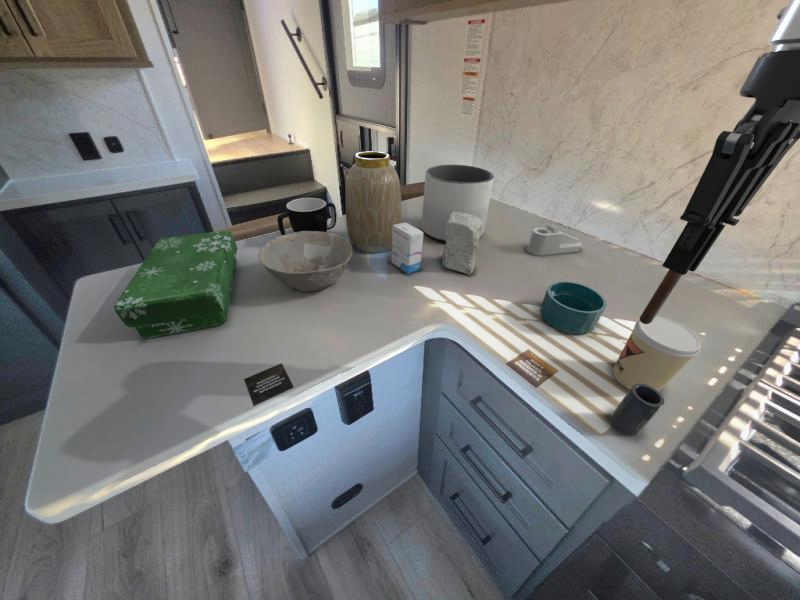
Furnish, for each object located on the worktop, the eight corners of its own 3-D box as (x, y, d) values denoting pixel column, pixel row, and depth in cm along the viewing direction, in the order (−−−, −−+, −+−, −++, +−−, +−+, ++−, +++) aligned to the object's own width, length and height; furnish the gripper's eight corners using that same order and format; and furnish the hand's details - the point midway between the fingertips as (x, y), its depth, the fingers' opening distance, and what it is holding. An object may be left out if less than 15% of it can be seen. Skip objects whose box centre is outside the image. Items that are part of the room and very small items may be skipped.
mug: (300, 227, 112) (294, 193, 105) (343, 231, 110) (340, 197, 103) (277, 247, 100) (268, 210, 92) (325, 253, 97) (320, 216, 90)
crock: (644, 429, 52) (670, 400, 47) (628, 440, 50) (653, 410, 46) (620, 409, 55) (643, 379, 50) (604, 419, 53) (625, 389, 49)
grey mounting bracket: (582, 251, 103) (591, 228, 98) (533, 256, 99) (540, 232, 95) (571, 243, 107) (579, 221, 102) (523, 247, 104) (530, 224, 99)
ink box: (421, 269, 91) (424, 231, 84) (407, 274, 89) (409, 235, 82) (404, 257, 96) (405, 220, 89) (390, 262, 94) (391, 224, 87)
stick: (651, 324, 49) (734, 198, 37) (645, 327, 48) (727, 200, 37) (641, 318, 50) (718, 194, 39) (635, 321, 49) (711, 196, 38)
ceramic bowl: (337, 315, 74) (333, 279, 68) (249, 300, 77) (237, 264, 71) (366, 268, 91) (364, 236, 85) (293, 257, 95) (286, 226, 89)
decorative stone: (436, 270, 91) (442, 222, 82) (442, 255, 98) (448, 210, 89) (472, 276, 89) (481, 227, 80) (476, 261, 96) (485, 214, 87)
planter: (413, 239, 107) (417, 178, 95) (429, 215, 124) (433, 161, 112) (479, 250, 102) (491, 186, 90) (486, 224, 119) (497, 168, 107)
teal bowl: (606, 326, 73) (618, 304, 69) (569, 341, 68) (580, 319, 64) (563, 297, 81) (572, 276, 78) (528, 309, 77) (535, 288, 73)
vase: (406, 253, 99) (410, 161, 83) (351, 258, 95) (343, 163, 79) (394, 230, 112) (395, 148, 96) (345, 234, 109) (338, 149, 92)
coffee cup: (611, 353, 66) (639, 308, 59) (665, 374, 61) (702, 328, 54) (604, 382, 60) (634, 335, 52) (663, 408, 55) (705, 361, 48)
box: (231, 329, 69) (216, 291, 63) (133, 345, 64) (108, 306, 58) (243, 259, 93) (233, 228, 87) (172, 268, 88) (157, 235, 82)
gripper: (795, 54, 35) (678, 247, 49) (729, 46, 29) (619, 266, 43) (902, 53, 30) (737, 270, 43) (846, 42, 24) (677, 294, 38)
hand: (678, 268), depth 43 cm, fingers closed on stick, 1 cm apart
